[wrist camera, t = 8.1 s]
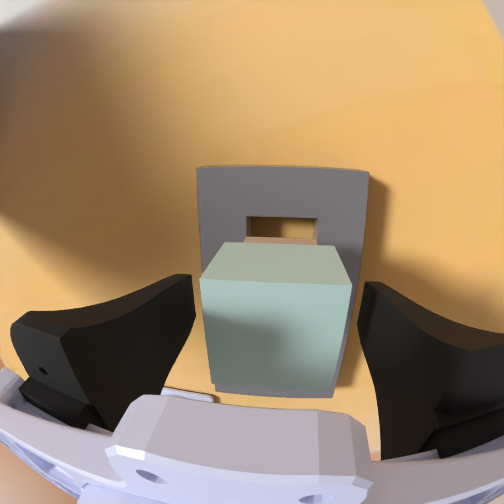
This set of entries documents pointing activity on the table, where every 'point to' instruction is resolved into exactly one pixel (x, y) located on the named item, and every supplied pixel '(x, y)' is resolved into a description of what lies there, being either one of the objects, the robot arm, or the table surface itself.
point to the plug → (275, 313)
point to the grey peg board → (285, 205)
